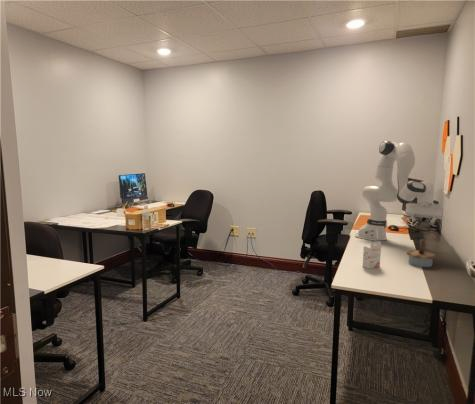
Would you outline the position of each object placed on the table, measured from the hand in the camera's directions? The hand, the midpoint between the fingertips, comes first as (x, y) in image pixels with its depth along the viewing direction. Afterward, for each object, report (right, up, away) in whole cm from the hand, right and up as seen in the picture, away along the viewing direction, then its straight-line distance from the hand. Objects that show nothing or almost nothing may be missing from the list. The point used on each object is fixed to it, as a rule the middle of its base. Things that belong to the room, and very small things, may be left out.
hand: (422, 222), depth 206 cm
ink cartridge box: (-37, -24, -15) cm, 47 cm away
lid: (-6, -19, -9) cm, 21 cm away
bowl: (-6, -23, -8) cm, 25 cm away
